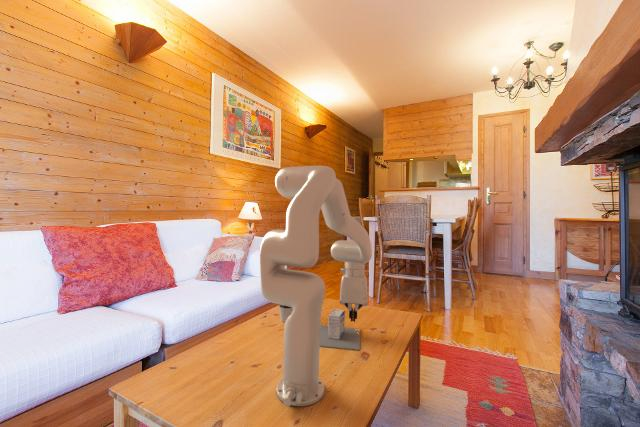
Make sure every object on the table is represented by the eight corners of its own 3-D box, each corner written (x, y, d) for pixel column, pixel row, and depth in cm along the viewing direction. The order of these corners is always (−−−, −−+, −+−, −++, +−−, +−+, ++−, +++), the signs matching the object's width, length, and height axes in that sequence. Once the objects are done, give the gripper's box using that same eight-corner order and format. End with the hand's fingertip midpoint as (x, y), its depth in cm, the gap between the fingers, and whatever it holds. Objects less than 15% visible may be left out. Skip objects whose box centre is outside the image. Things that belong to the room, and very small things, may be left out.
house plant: (302, 328, 118) (303, 288, 118) (268, 327, 118) (269, 287, 118) (304, 315, 132) (305, 279, 132) (274, 314, 133) (275, 278, 133)
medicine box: (339, 340, 108) (340, 316, 108) (327, 338, 109) (328, 315, 109) (344, 331, 115) (345, 310, 115) (333, 330, 117) (334, 308, 116)
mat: (359, 350, 101) (359, 349, 101) (297, 344, 104) (297, 343, 104) (360, 329, 119) (360, 328, 119) (307, 324, 122) (307, 323, 122)
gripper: (333, 273, 108) (332, 322, 109) (374, 275, 106) (373, 326, 106) (335, 269, 116) (334, 315, 116) (374, 271, 113) (372, 318, 114)
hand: (352, 320), depth 111 cm, fingers closed
